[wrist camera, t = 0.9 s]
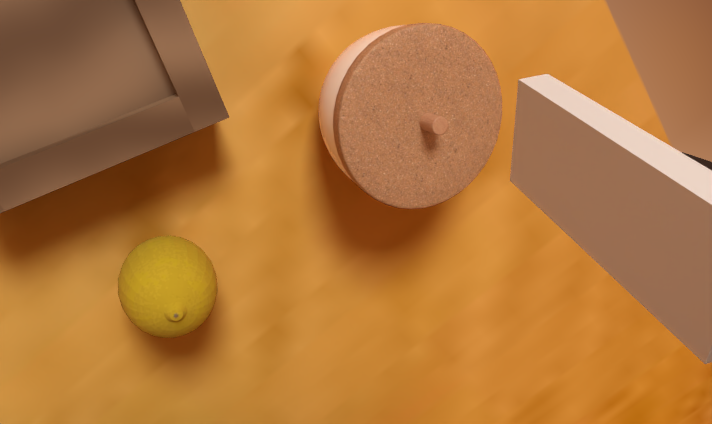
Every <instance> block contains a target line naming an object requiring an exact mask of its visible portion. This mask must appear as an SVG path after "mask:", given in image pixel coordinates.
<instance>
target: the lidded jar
mask: <svg viewBox="0 0 712 424" xmlns="http://www.w3.org/2000/svg"><path fill="white" fill-rule="evenodd" d="M318 116H319V125H320V130H321V134H322V137H323V140H324V142H325V145H326V147H327V149H328V151H329V153H330V155H331V157H332V158H333V160H334V161H335V163H336V164H337V165H338V167H339V168H340V169H341V170H342V171H343V172H344V173H345V174H346V175H347V176H348V177H349V178H350V179H351V180H352V181H353V182H355V183H356V184H357V185H358V186H359V188H360V189H362V190H363V191H364V192H366V193H367V194H368V195H370V196H371V197H372V198H374V199H376V200H378V201H380V202H382V203H384V204H386V205H389V206H393V207H396V208H403V209H420V208H426V207H430V206H434V205H437V204H439V203H442V202H444V201H446V200H448V199H450V198H451V197H453V196H455V195H456V194H458V193H459V192H460V191H462V190H463V189H464V188H465V187H467V186H468V185H469V184H470V183H471V182H472V181H473V180H474V178H475V177H476V176H477V175H478V174H479V172H480V171H481V170H482V168H483V167H484V166H485V164H486V162H487V161H488V159H489V157H490V155H491V153H492V151H493V148H494V146H495V144H496V141H497V138H498V134H499V130H500V124H501V118H502V96H501V88H500V84H499V80H498V77H497V73H496V71H495V69H494V67H493V64H492V62H491V60H490V59H489V57H488V56H487V54H486V53H485V51H484V50H483V49H482V48H481V47H480V46H479V45H478V44H477V42H476V41H475V40H473V39H472V38H470V37H469V36H468V35H466V34H465V33H463V32H461V31H459V30H457V29H455V28H453V27H449V26H445V25H441V24H430V23H418V24H410V25H400V26H392V27H388V28H384V29H381V30H377V31H374V32H372V33H370V34H368V35H366V36H364V37H362V38H360V39H358V40H357V41H355V42H354V43H353V44H351V45H350V46H349V47H347V48H346V49H345V50H344V51H343V52H342V53H341V54H340V55H339V56H338V58H337V59H336V61H335V62H334V63H333V65H332V66H331V68H330V70H329V72H328V74H327V76H326V78H325V80H324V83H323V86H322V89H321V94H320V99H319V112H318Z"/></svg>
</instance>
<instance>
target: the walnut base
mask: <svg viewBox="0 0 712 424" xmlns="http://www.w3.org/2000/svg"><path fill="white" fill-rule="evenodd" d="M227 118H229V115H228V113H227V110H226V108H225V106H224V103H223V101H222V99H221V96H220V94H219V92H218V89H217V87H216V84H215V82H214V80H213V77H212V75H211V73H210V70H209V68H208V66H207V63H206V61H205V59H204V56H203V54H202V51H201V49H200V47H199V44H198V42H197V40H196V37H195V35H194V33H193V30H192V28H191V25H190V23H189V21H188V18H187V16H186V14H185V11H184V9H183V7H182V4H181V2H180V0H0V213H2V212H4V211H7V210H9V209H12V208H14V207H16V206H19V205H21V204H23V203H26V202H28V201H31V200H33V199H35V198H38V197H40V196H43V195H45V194H47V193H50V192H52V191H55V190H57V189H59V188H62V187H64V186H67V185H69V184H71V183H74V182H76V181H78V180H81V179H83V178H86V177H88V176H90V175H93V174H95V173H98V172H100V171H102V170H105V169H107V168H110V167H112V166H114V165H117V164H119V163H121V162H124V161H126V160H129V159H131V158H133V157H136V156H138V155H141V154H143V153H145V152H148V151H150V150H153V149H155V148H157V147H160V146H162V145H164V144H167V143H169V142H172V141H174V140H176V139H179V138H181V137H184V136H186V135H188V134H191V133H193V132H196V131H198V130H200V129H203V128H205V127H208V126H210V125H212V124H215V123H217V122H219V121H222V120H224V119H227Z"/></svg>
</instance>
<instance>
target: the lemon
mask: <svg viewBox="0 0 712 424" xmlns="http://www.w3.org/2000/svg"><path fill="white" fill-rule="evenodd" d="M118 295H119V298H120V302H121V305H122V308H123V310H124V311H125V313H126V314H127V316H128V317H129V319H130V320H131V322H132V323H134V324H135V325H136V326H137V327H138V328H139V329H141V330H142V331H144V332H146V333H148V334H150V335H152V336H157V337H162V338H174V337H178V336H182V335H185V334H187V333H189V332H192V331H194V330H195V329H196V328H198V327H199V326H200V325H201V324H202V323H203V322H204V321H205V320H206V319H207V317H208V316H209V315H210V313H211V311H212V309H213V306H214V304H215V299H216V295H217V279H216V273H215V270H214V268H213V265H212V262H211V261H210V259H209V258H208V256H207V255H206V254H205V252H204V251H203V250H202V249H201V248H199V247H198V246H197V245H196V244H194V243H193V242H191V241H189V240H186V239H184V238H181V237H176V236H158V237H155V238H152V239H149V240H147V241H145V242H143V243H141V244H140V245H138V246H137V247H136V248H135V249H134V250H133V251H132V252H130V254H129V255H128V257H127V258H126V260H125V261H124V263H123V265H122V268H121V271H120V274H119V278H118Z"/></svg>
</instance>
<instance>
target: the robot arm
mask: <svg viewBox="0 0 712 424" xmlns="http://www.w3.org/2000/svg"><path fill="white" fill-rule="evenodd" d="M510 181H511V182H512V183H513V184H514V185H515V186H516V187H518V188H519V189H520V190H521V191H522V192H523V193H524V194H525V195H526V196H527V197H528V198H529V199H530V200H531V201H532V202H533V203H535V204H536V205H537V206H538V207H539V208H540V209H541V210H542V211H543V212H544V213H545V214H546V215H547V216H548V217H549V218H550V219H552V220H553V221H554V222H555V223H556V224H557V225H558V226H559V227H560V228H561V229H562V230H563V231H564V232H565V233H566V234H567V235H569V236H570V237H571V238H572V239H573V240H574V241H575V242H576V243H577V244H578V245H579V246H580V247H581V248H582V249H583V250H584V251H586V252H587V253H588V254H589V255H590V256H591V257H592V258H593V259H594V260H595V261H596V262H597V263H598V264H599V265H600V266H601V267H603V268H604V269H605V270H606V271H607V272H608V273H609V274H610V275H611V276H612V277H613V278H614V279H615V280H616V281H617V282H618V283H620V284H621V285H622V286H623V287H624V288H625V289H626V290H627V291H628V292H629V293H630V294H631V295H632V296H633V297H634V298H635V299H637V300H638V301H639V302H640V303H641V304H642V305H643V306H644V307H645V308H646V309H647V310H648V311H649V312H650V313H651V314H652V315H654V316H655V317H656V318H657V319H658V320H659V321H660V322H661V323H662V324H663V325H664V326H665V327H666V328H667V329H668V330H669V331H671V332H672V333H673V334H674V335H675V336H676V337H677V338H678V339H679V340H680V341H681V342H682V343H683V344H684V345H685V346H686V347H688V348H689V349H690V350H691V351H692V352H693V353H694V354H695V355H696V356H697V357H698V358H699V359H700V360H701V361H702V362H703V363H705V364H707V363H710V362H712V162H710V161H707V160H704V159H701V158H698V157H695V156H692V155H689V154H686V153H683V152H682V153H681V152H679V151H677V150H676V149H674V148H673V147H671V146H669V145H668V144H666V143H664V142H662V141H661V140H659V139H657V138H656V137H654V136H652V135H651V134H649V133H647V132H645V131H644V130H642V129H640V128H639V127H637V126H635V125H634V124H632V123H630V122H628V121H627V120H625V119H623V118H622V117H620V116H618V115H617V114H615V113H613V112H611V111H610V110H608V109H606V108H605V107H603V106H601V105H600V104H598V103H596V102H594V101H593V100H591V99H589V98H588V97H586V96H584V95H583V94H581V93H579V92H577V91H576V90H574V89H572V88H571V87H569V86H567V85H566V84H564V83H562V82H560V81H559V80H557V79H555V78H554V77H552V76H550V75H549V74H544V75H539V76H534V77H529V78H523V79H519V80H518V92H517V104H516V116H515V128H514V140H513V151H512V163H511V175H510Z"/></svg>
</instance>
